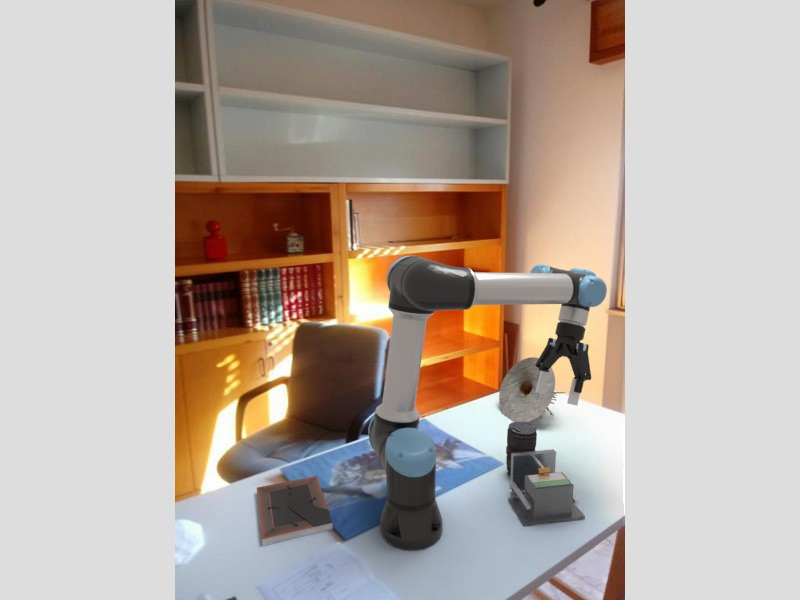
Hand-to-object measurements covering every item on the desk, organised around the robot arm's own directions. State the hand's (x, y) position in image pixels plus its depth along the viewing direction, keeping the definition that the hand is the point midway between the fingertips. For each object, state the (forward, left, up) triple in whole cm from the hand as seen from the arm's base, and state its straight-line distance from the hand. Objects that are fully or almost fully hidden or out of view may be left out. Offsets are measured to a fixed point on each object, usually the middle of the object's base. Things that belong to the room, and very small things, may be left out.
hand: (555, 398), depth 129 cm
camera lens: (-8, +2, -24) cm, 25 cm away
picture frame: (-72, -3, -25) cm, 76 cm away
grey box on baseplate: (-8, -15, -24) cm, 29 cm away
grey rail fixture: (-8, -11, -23) cm, 27 cm away
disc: (+12, +39, -24) cm, 48 cm away
